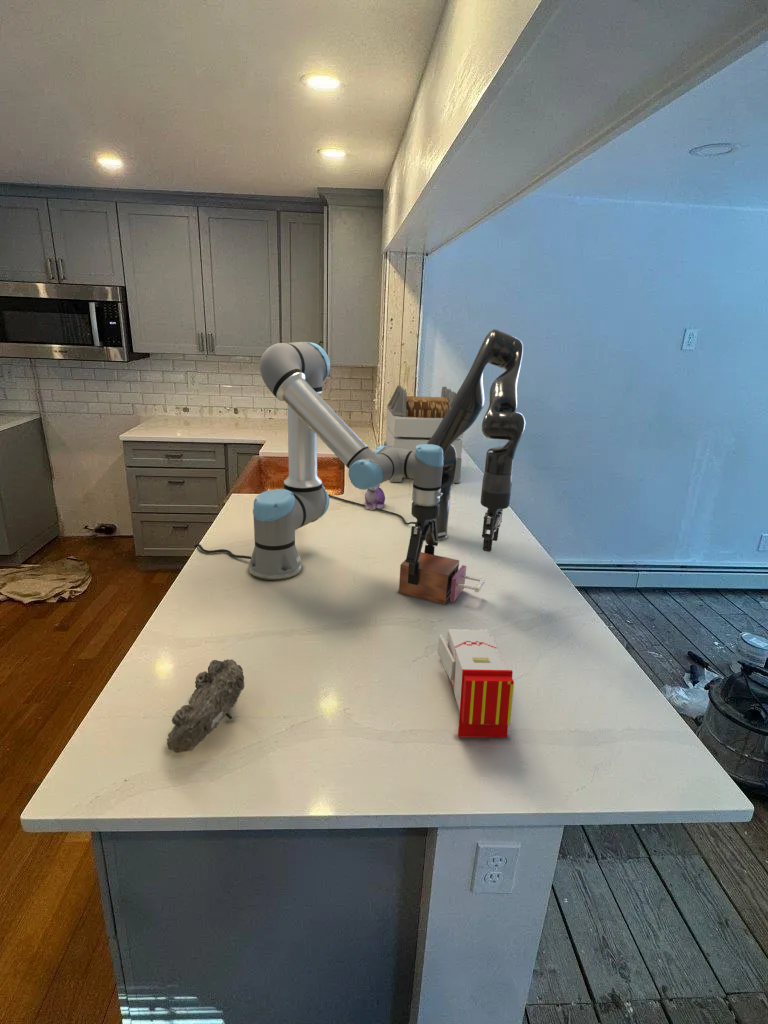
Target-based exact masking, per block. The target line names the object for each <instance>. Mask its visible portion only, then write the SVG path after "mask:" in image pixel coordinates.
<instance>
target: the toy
mask: <svg viewBox="0 0 768 1024" xmlns="http://www.w3.org/2000/svg"><path fill="white" fill-rule="evenodd" d="M446 640H447V643H446V641H445V639H444V636H443V635H442V634H439V637H438V646H437V656H438V657H439V659H440V661H441V663H442V666H443V668H444V670H445V672H446V674H447V677H448V679H449V681H450V684H451V687H452V690H453V693H454V697H455V701H456V705H457V708H458V711H459V714H458V715H459V716H458V730H457V731H458V732H457V737H458V738H508V731H509V726H510V725H511V717H512V707H513V697H514V696H513V695H514V684H515V680H514V679H513V673H514V671H513V670H512V669H508V667H507V665H506V662H505V661H504V659H503V658H502V655H501V653H500V651H499V649H498V647H497V643H496V639H495V637H494V635H493V634H491V632H490V631H489V629H467V628H466V629H465V628H463V629H461V628H460V629H459V628H448V630H447V639H446Z"/></svg>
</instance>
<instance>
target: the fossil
mask: <svg viewBox="0 0 768 1024" xmlns="http://www.w3.org/2000/svg"><path fill="white" fill-rule="evenodd" d="M243 670H244V669H243V667H242V665H240V664H237V662H236V661H235V660H234V659H232V658H231V659H227V658H226V659H224V660H223V661H222V660H217V659H212V660H211V661H210V663H209V665H208V666H207V671H201V672H199V673H198V674H197V675H196V676H195V680H194V684H195V685H194V687H195V689H194V690H193V693H192V694H191V697H190V698H189V700H188V704H184V705H182V706H181V707H180V709H177V710H176V711H175V713H174V715H173V716H172V718H171V723H172V724H173V727H172V730H171V731H170V732H168V734H167V738H166V741H167V742H166V745H167V749H168V750H169V751H173V752H174V753H176V754H178V753H182V752H188V751H189V752H192V751H193V750H195V748H196V747H197V746H199V744H200V743H201V742H203V741H204V740H205V739H206V738H207V737H208V736H209V735H210V734H211V733H212V732H214V730H215V729H217V727H218V726H219V724H220V722H221V721H222V720H223V719H224V718H225V716H226V717H227V719H229V720H233V717H232V715H230V714H229V710H230V709H231V708H234V706H235V704H236V703H237V702H238V699H239V697H240V695H241V693H242V691H243V690H245V689H244V688H245V675H244V671H243Z"/></svg>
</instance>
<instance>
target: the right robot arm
mask: <svg viewBox="0 0 768 1024" xmlns="http://www.w3.org/2000/svg"><path fill="white" fill-rule="evenodd" d="M523 354H524V344H523V341H521V339H519V338H517V337H516V336H513V335H511V334H509V333H506V332H504V331H501V330H499V329H491V330H490V331H489V332H488V333H487V334H486V336H485V337H484V339H483V341H482V343H481V346H480V347H479V349H478V351H477V354H476V356H475V358H474V360H473V363H471V367H470V368H469V370H468V372H467V375H466V376H465V378H464V380H463V382H462V384H461V385H460V386H459V389H458V390H457V392H456V395H455V397H454V399H453V401H452V403H451V405H450V406H449V409H448V411H447V412H446V414H445V416H444V418H443V419H442V421H441V423H440V425H439V426H438V428H437V430H436V431H435V433H434V434H433V436H432V437H431V439H430V440H429V441H428V443H427V444H433V445H437V446H440V447H441V448H442V449H443V463H444V464H443V470H442V480H441V491H440V493H442V496H440V502H439V505H440V508H439V516H438V517H437V534H438V540H437V541H436V542H440V541H444V540H446V539H447V538H448V525H449V517H450V516H449V514H450V504H451V494H452V493H451V491H452V486H453V484H454V483H453V482H454V477H455V470H456V462H457V455H456V450H455V448H454V446H453V445H452V443H453V442H454V441H455V440H456V439H457V438H458V437H459V436H460V435H462V434H463V435H464V433H465V432H467V431H468V430H469V429H470V428H471V427H472V426H473V425H474V423H475V422H476V420H477V419H478V417H479V415H480V414H481V412H482V410H483V408H484V407H485V406H484V405H485V390H484V379H483V378H484V371H485V368H486V366H487V364H490V365H493V366H495V367H497V368H500V369H503V370H505V371H504V372H502V373H501V374H499V375H498V376H497V377H496V378H495V379H494V380H493V381H492V383H491V385H490V388H489V403H488V404H489V405H488V408H487V409H486V412H485V414H484V416H483V419H482V423H481V431H482V434H483V435H484V437H485V438H487V439H490V440H500V441H507V442H506V443H505V444H504V445H502V446H496V447H491V448H489V449H487V450H486V454H485V464H484V472H483V477H482V481H481V482H482V483H481V493H480V505H481V506H482V507H483V508H486V509H487V510H486V511H485V513H484V516H483V524H482V533H481V539H483V543H482V551H483V552H486V553H490V552H492V550H493V541H494V542H497V541H498V540H499V532H500V528H501V524H502V522H503V511H504V510H505V509H507V508H509V507H510V502H511V495H512V485H513V469H514V461H515V456H516V452H517V448H518V447H519V445H520V441H521V440H522V437H523V435H524V432H525V429H526V419H525V416H524V415H523V414H522V413H521V412H519V411H518V412H517V411H516V410H517V408H518V391H517V390H518V389H517V388H518V381H519V376H520V371H521V366H522V361H523ZM328 495H329V498H333V499H336V500H339V501H342V502H346V503H349V504H354V505H358V506H361V507H366V505H364V504H365V503H359V502H356V501H351V500H348V499H344V498H341V497H338V496H335V495H332V494H329V493H328ZM375 510H376V511H379V512H384V513H387V514H390V515H393V516H396V517H399V518H401V520H402V521H403V522H402V523H404V525H406V526H408V525H415V524H416V522H417V521H409V522H407V521H406V520H405V518H404V517H403V515H401V514H399V513H396V512H394V511H393V512H392V511H389V510H386V509H382V508H380V509H379V508H375ZM488 531H489V533H488ZM434 537H435V536H434Z"/></svg>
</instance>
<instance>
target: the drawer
mask: <svg viewBox="0 0 768 1024" xmlns="http://www.w3.org/2000/svg"><path fill="white" fill-rule="evenodd" d="M466 574H467V565H464V564H462V565H461V566H460V567H459V570H458V571H457V573H456V568H455V569H454V570H453V572H452V573H451V574H450V575H449V577H448V586H447V595H448V594H449V593H450V591H451V595H450V598H449V602H451V603H455V602H456V600H457V599H458V597H459V596H460V594H461V593H462V591H463V590H464V589H467V590H473V591H474V592H475V593H479V592H480V591H481V589H482V588H483V586H484V584H485V583H486V578H485V577H481V578H479V577H473V576H469V575H466ZM466 579H467V580H472V581H475V582H477V584H475V585H476V586H471V585H467V584H465V583H466Z"/></svg>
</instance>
